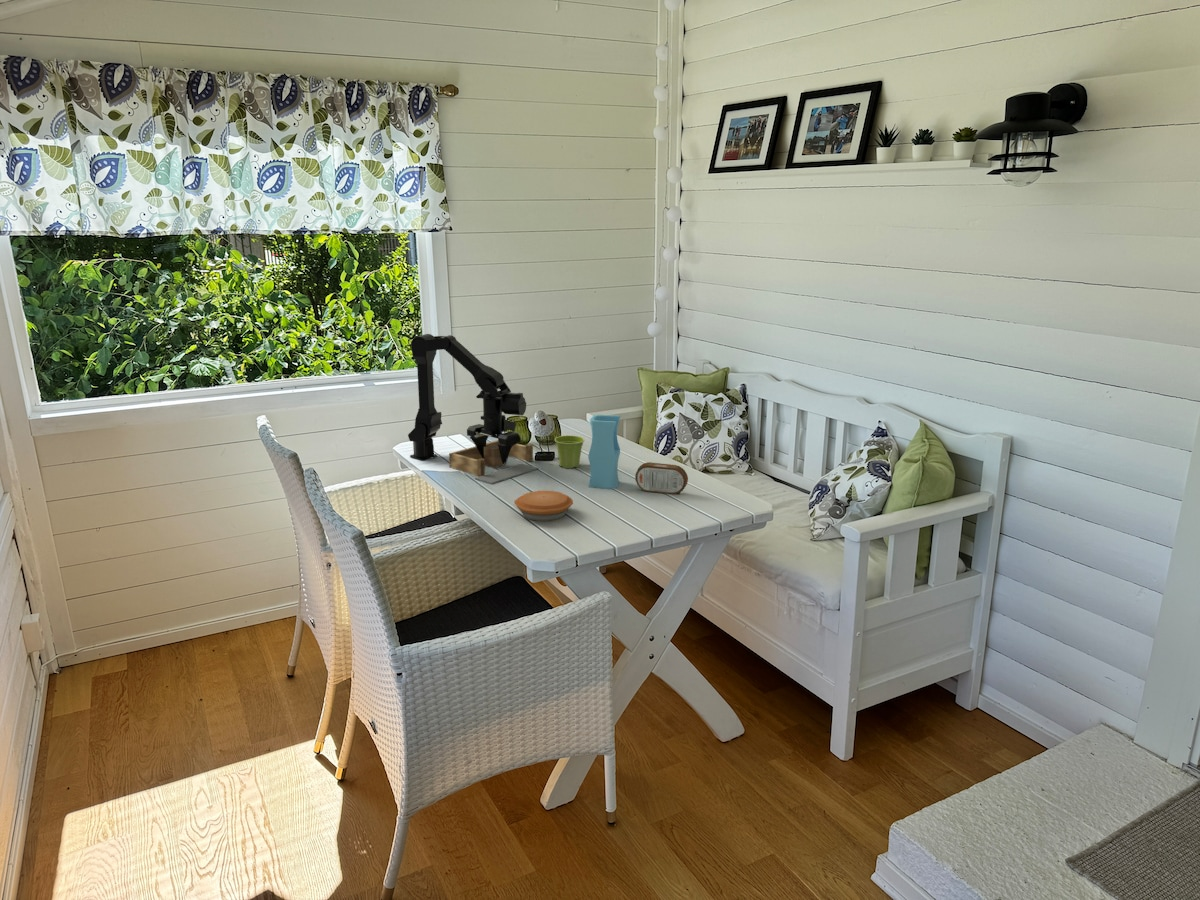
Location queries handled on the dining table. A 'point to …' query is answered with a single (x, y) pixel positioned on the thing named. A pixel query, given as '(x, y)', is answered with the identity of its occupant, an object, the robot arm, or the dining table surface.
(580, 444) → the plant pot
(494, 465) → the block
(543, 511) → the pie
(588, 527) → the dining table surface
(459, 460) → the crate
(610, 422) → the wavy blue tube
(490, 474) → the mat
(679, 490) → the tin
